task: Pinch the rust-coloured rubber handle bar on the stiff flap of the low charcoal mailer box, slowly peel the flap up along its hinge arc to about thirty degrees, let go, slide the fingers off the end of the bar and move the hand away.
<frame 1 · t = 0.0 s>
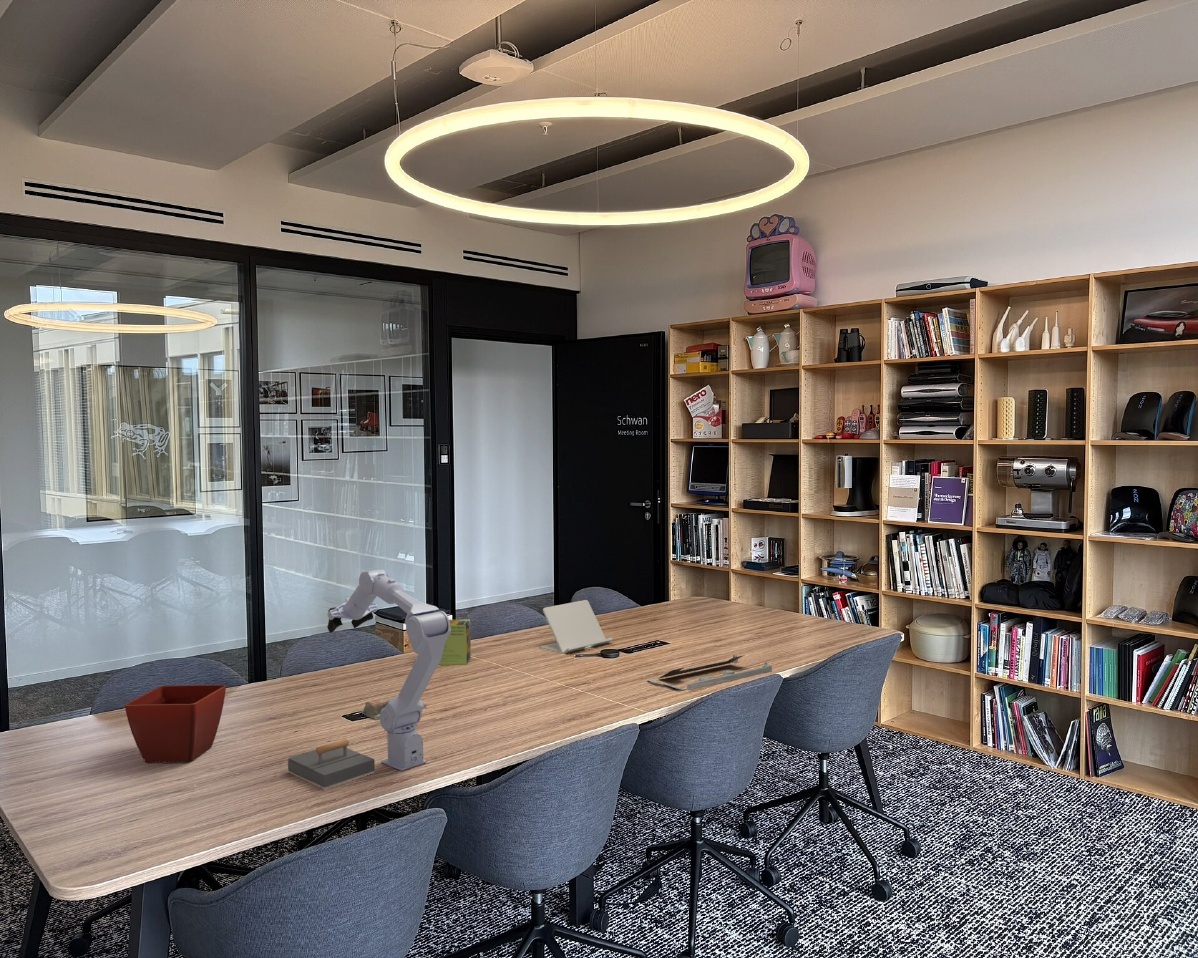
hand: (341, 627, 247), 32 cm above the table, tool tilted 50°, fingers open, 7 cm apart
plant pot: (179, 755, 239), on the table
protein box: (449, 662, 336), on the table
tablet stand: (577, 647, 359), on the table
packaged product: (394, 712, 275), on the table
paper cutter: (708, 677, 309), on the table
charcoal mailer box: (331, 772, 224), on the table
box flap: (324, 748, 225), point 5 cm above the table, hinge at 0.0°
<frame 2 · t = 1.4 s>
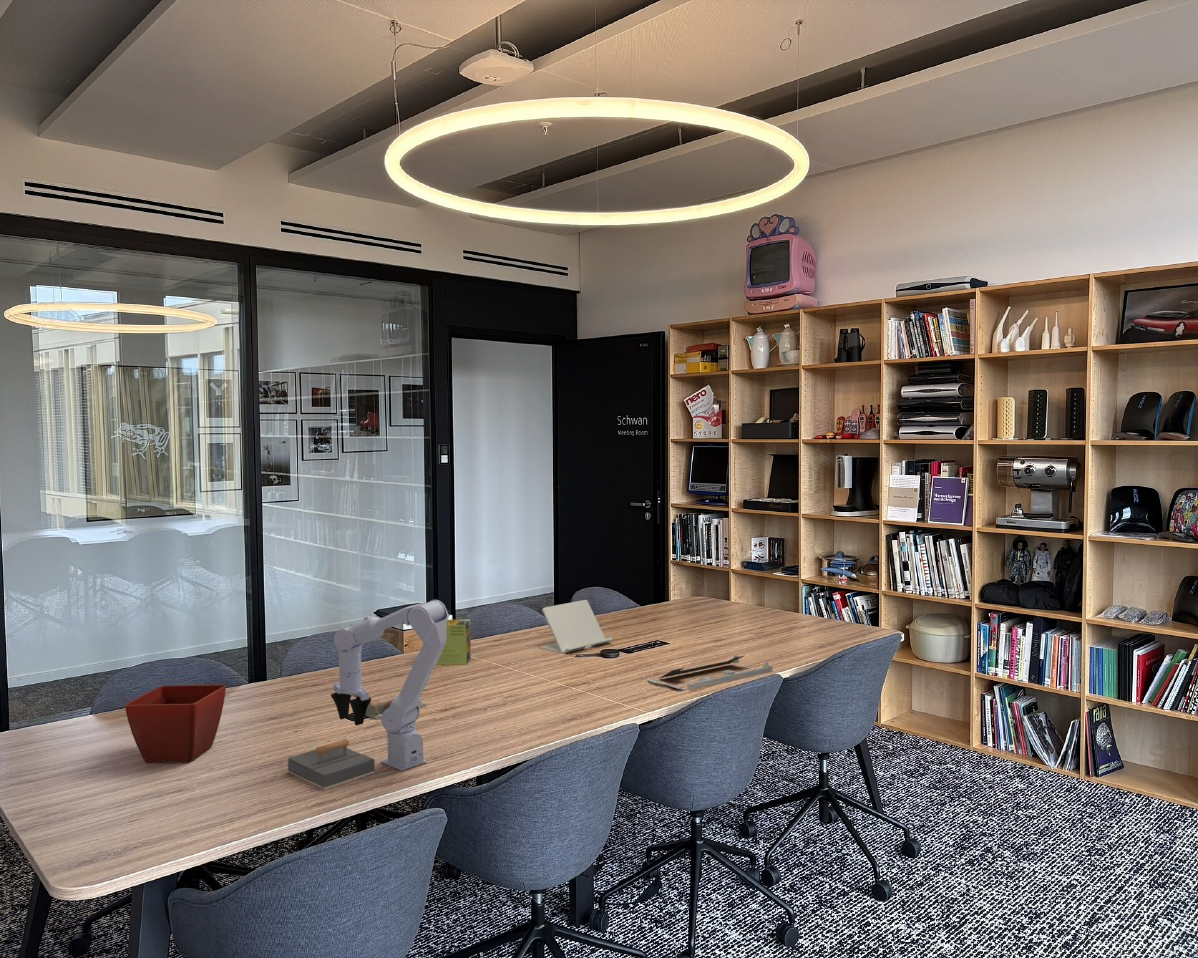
hand: (351, 721, 235), 10 cm above the table, tool pointing down, fingers open, 7 cm apart
nothing on the table moved.
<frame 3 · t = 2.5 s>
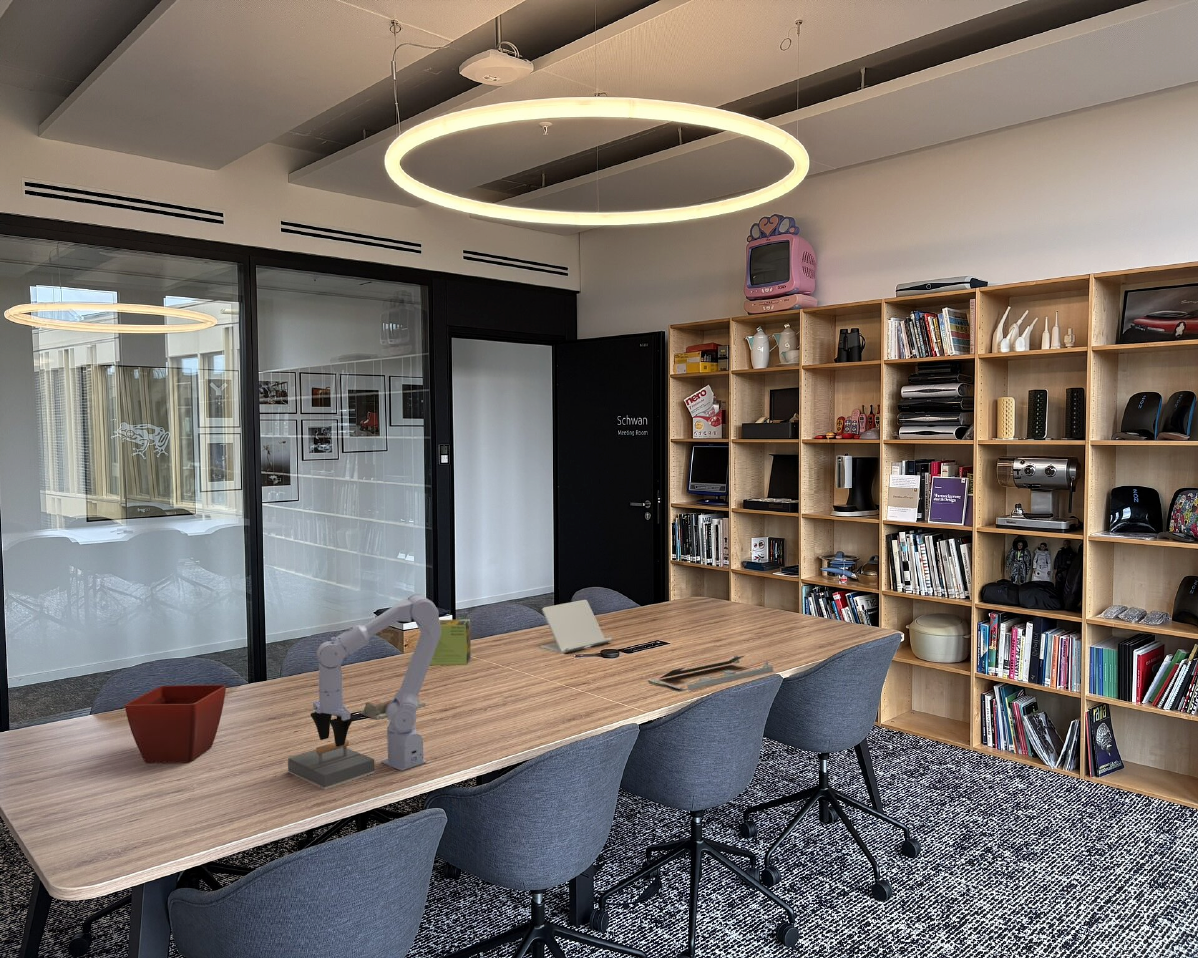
hand: (332, 742, 223), 8 cm above the table, tool pointing down, fingers open, 7 cm apart
nothing on the table moved.
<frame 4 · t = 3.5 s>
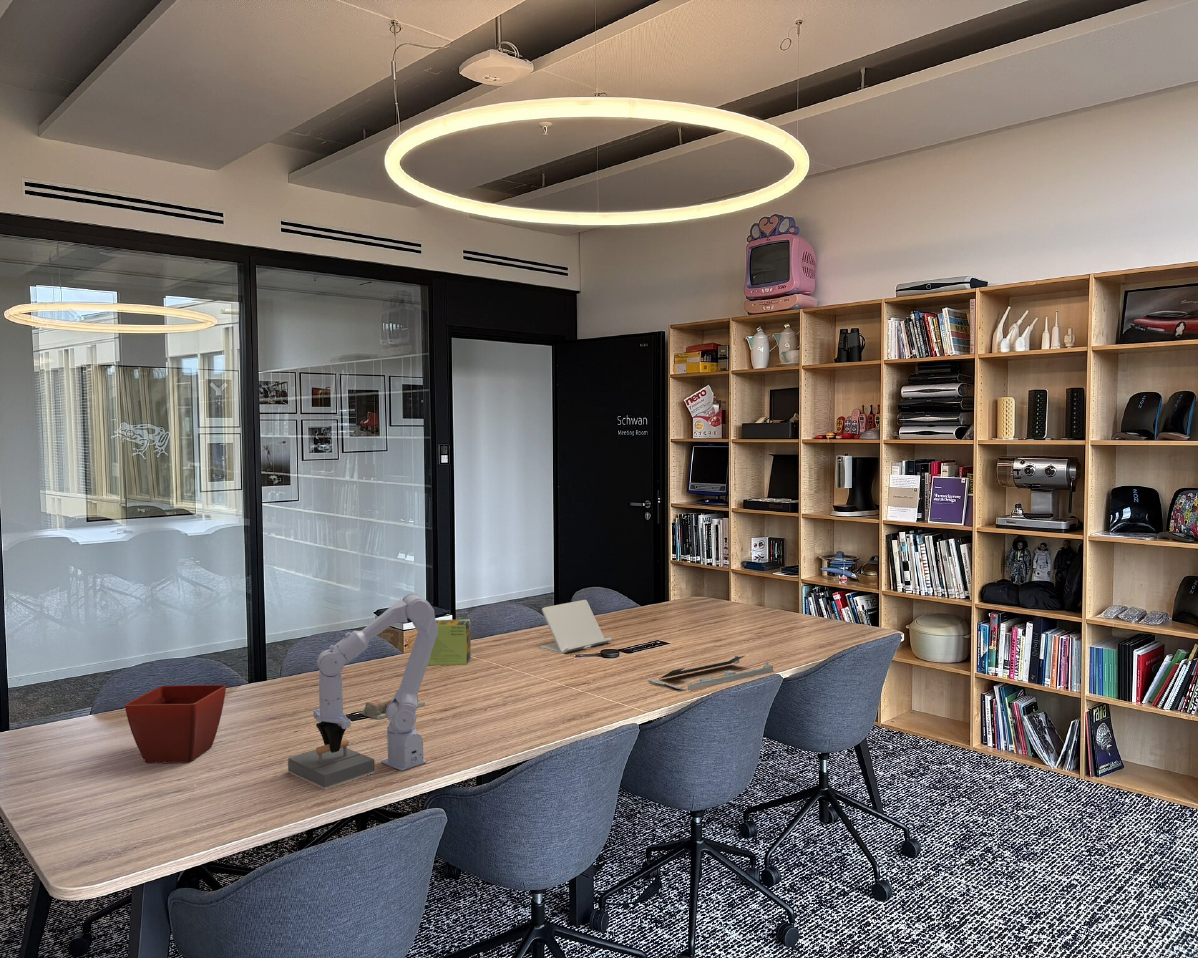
hand: (332, 750, 223), 6 cm above the table, tool pointing down, fingers closed on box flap, 2 cm apart
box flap: (324, 748, 225), point 5 cm above the table, hinge at 0.0°, touching gripper
everything else where it was.
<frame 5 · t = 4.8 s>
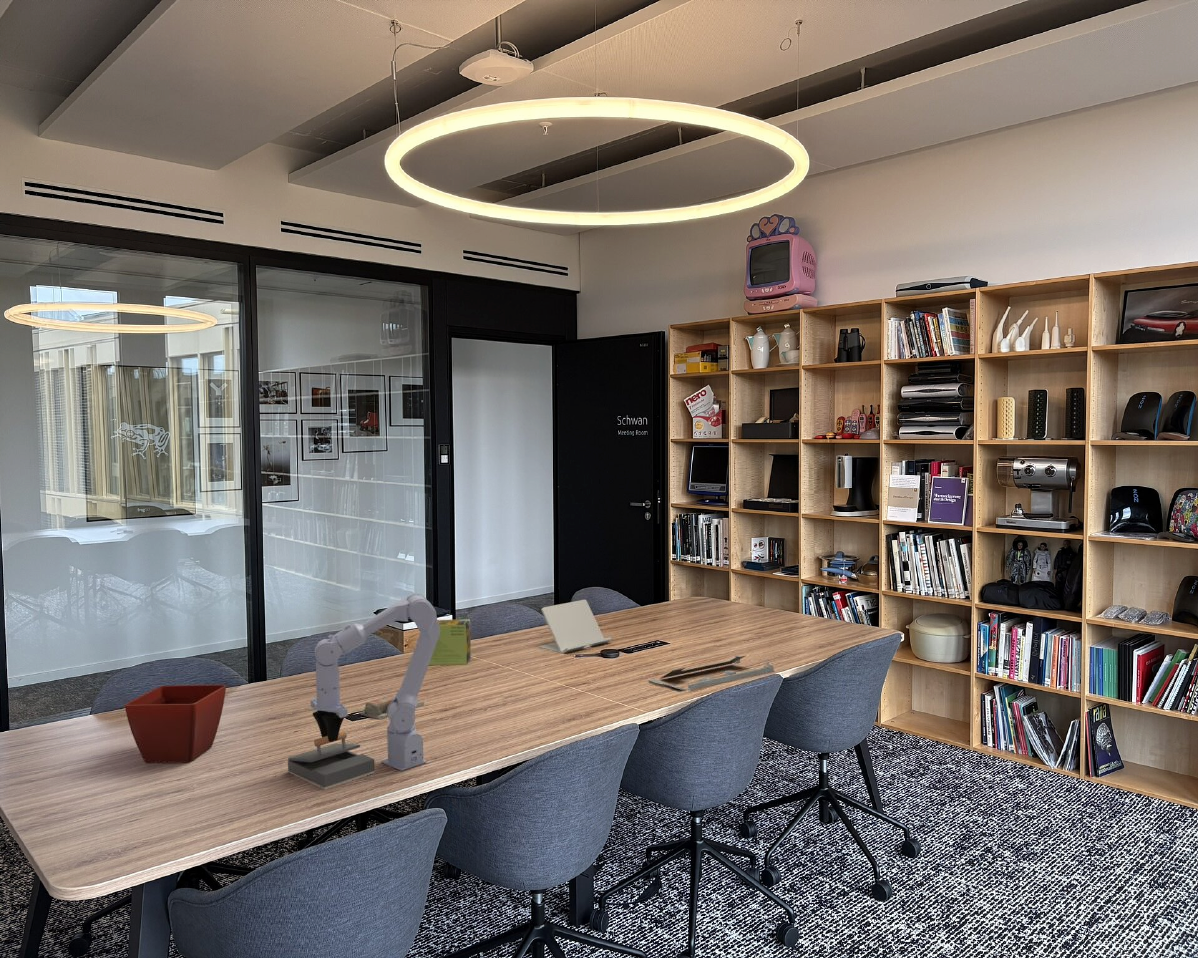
hand: (329, 739, 223), 8 cm above the table, tool pointing down, fingers closed
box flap: (323, 744, 226), point 7 cm above the table, hinge at 11.1°, touching gripper
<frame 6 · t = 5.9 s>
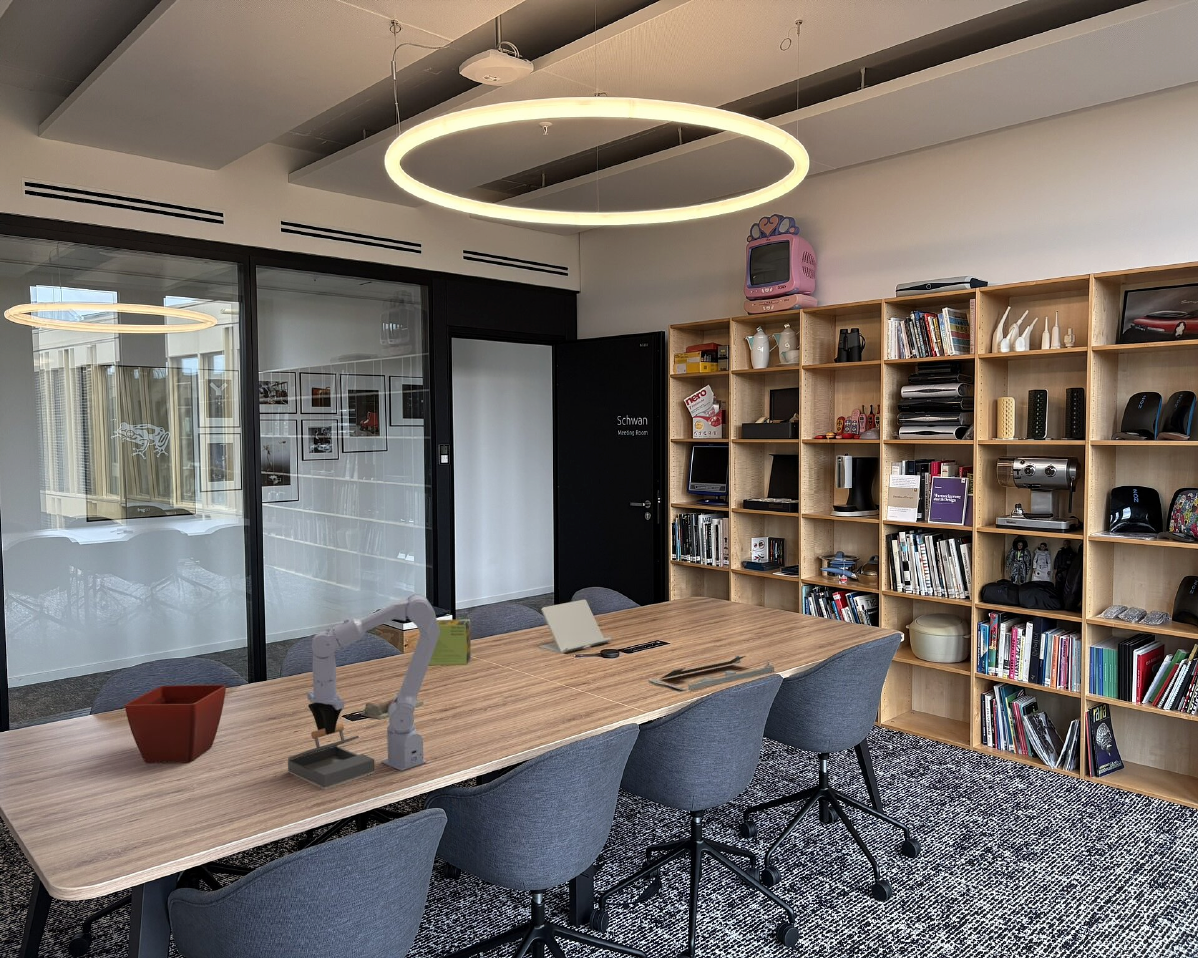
hand: (326, 731, 224), 10 cm above the table, tool pointing down, fingers open, 3 cm apart
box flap: (321, 739, 226), point 8 cm above the table, hinge at 22.5°
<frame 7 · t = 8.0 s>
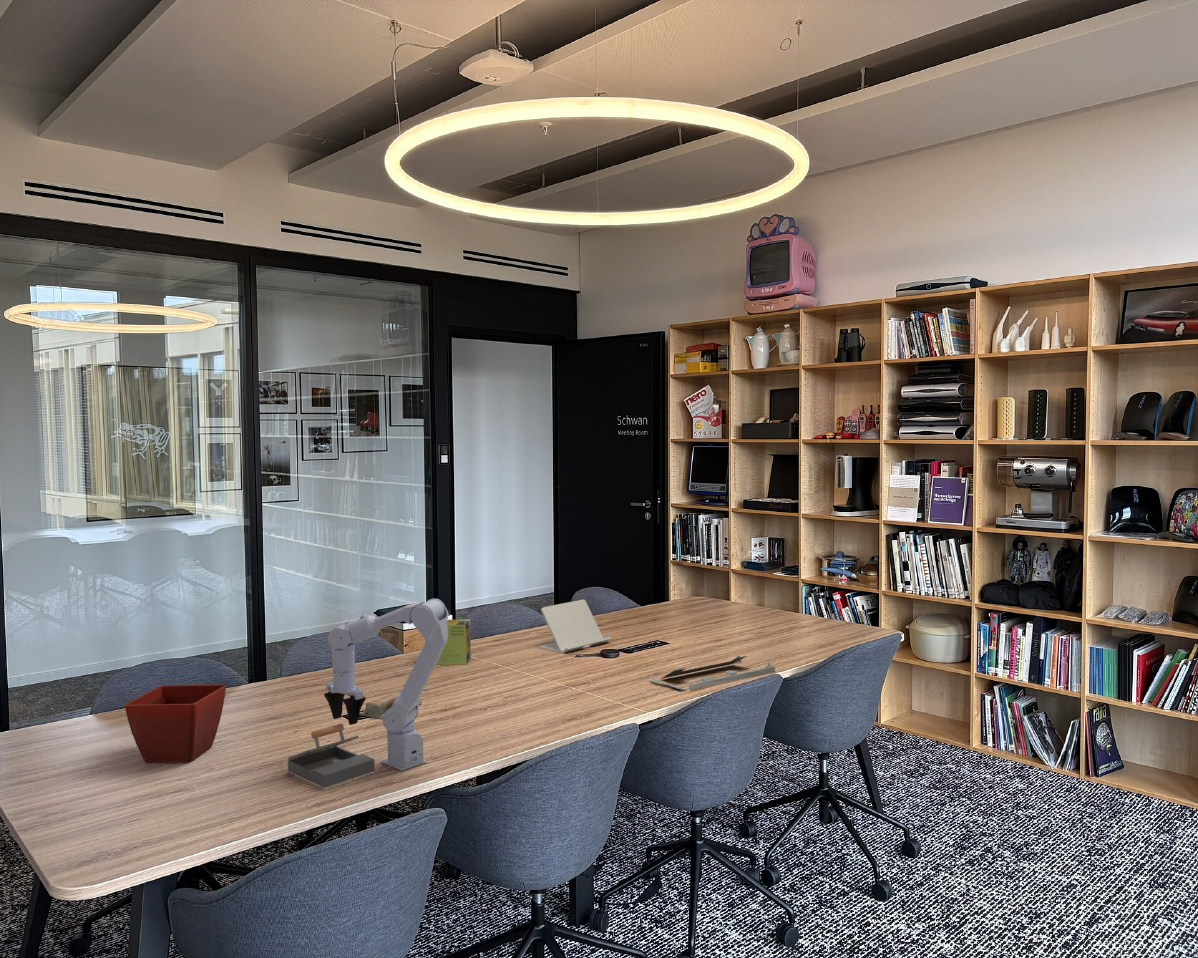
hand: (345, 720, 233), 10 cm above the table, tool pointing down, fingers open, 7 cm apart
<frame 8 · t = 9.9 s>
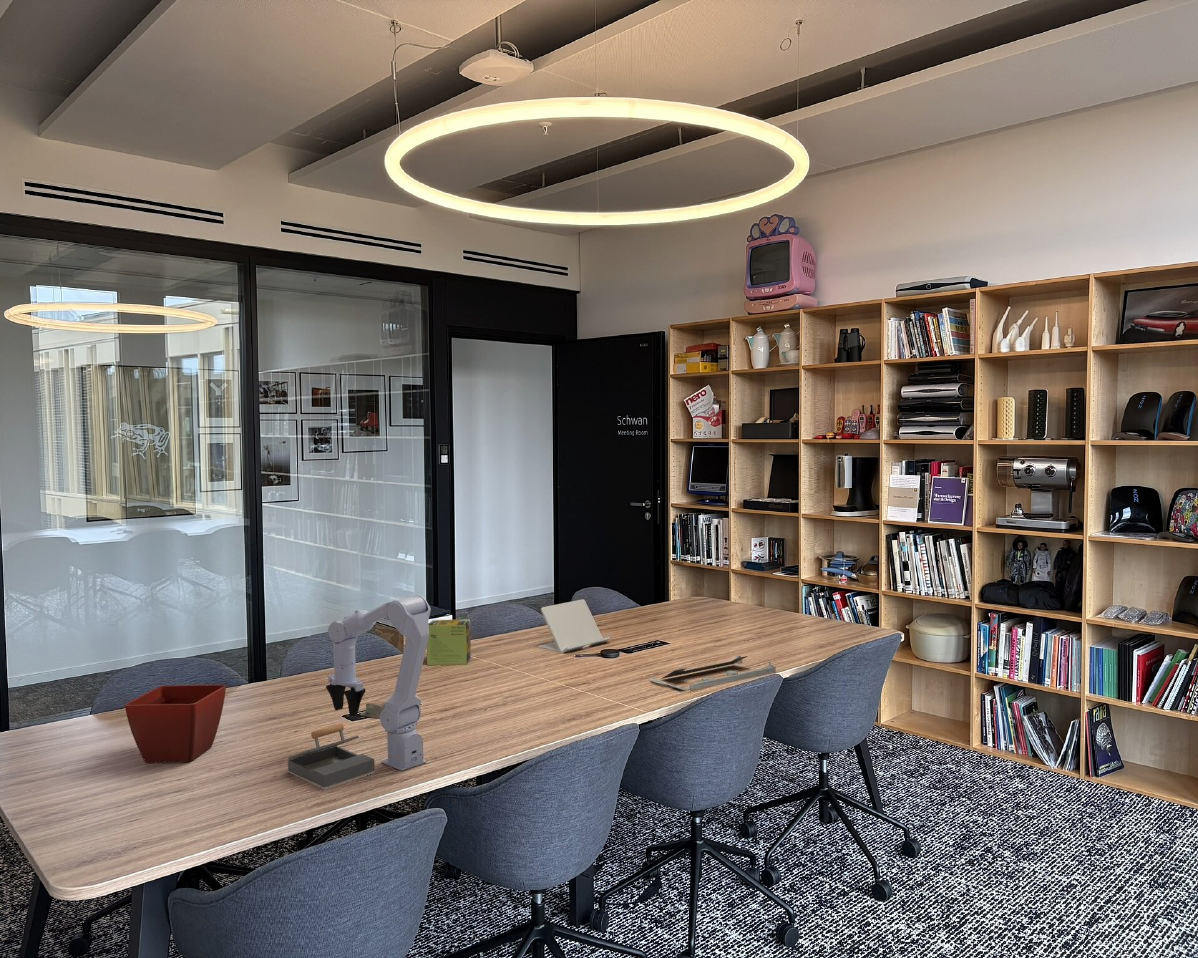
hand: (346, 712, 240), 10 cm above the table, tool pointing down, fingers open, 7 cm apart
at the end: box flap at +23° (first picture: +0°); the gripper is holding nothing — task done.
